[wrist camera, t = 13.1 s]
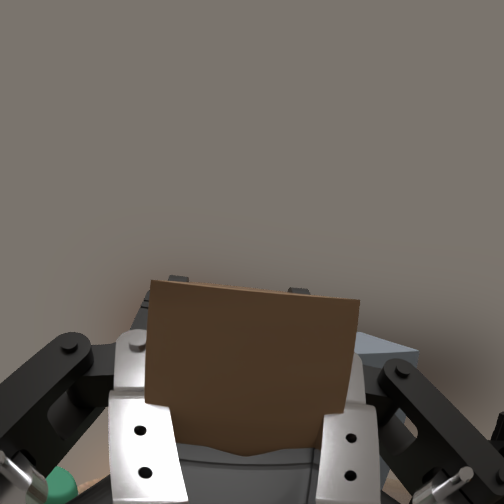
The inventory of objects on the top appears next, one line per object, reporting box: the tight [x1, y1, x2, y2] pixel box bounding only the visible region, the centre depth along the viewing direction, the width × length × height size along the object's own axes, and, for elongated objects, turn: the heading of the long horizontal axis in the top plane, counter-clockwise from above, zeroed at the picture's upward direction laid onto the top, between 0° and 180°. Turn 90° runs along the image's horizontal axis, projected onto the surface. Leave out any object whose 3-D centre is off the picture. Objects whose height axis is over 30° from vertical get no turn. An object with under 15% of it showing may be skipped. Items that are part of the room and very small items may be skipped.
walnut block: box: [144, 280, 360, 457], centre depth 16 cm, size 22×4×4 cm, turn 6°
